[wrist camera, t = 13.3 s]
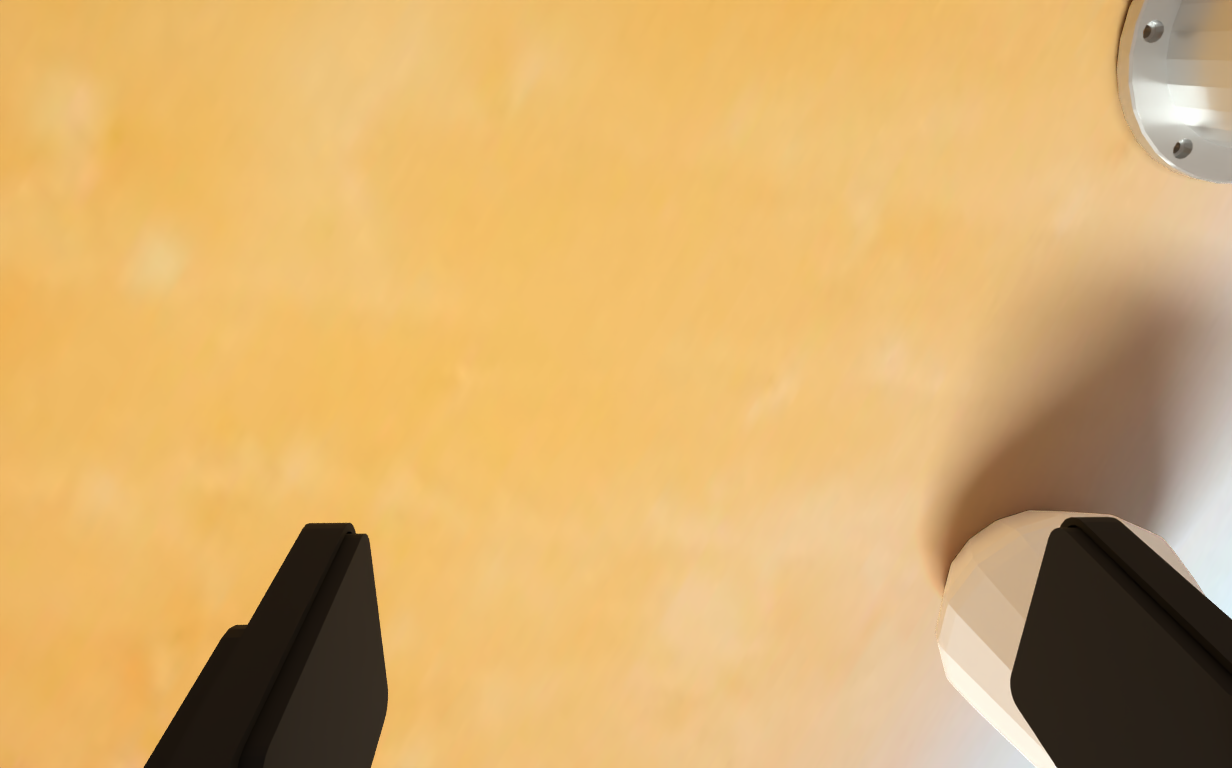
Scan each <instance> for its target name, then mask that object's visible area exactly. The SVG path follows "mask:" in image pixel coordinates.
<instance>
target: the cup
mask: <svg viewBox="0 0 1232 768" xmlns="http://www.w3.org/2000/svg"><path fill="white" fill-rule="evenodd" d="M1070 517H1113V518H1116V519H1117V520H1119V521H1121V522H1122V523H1123V524H1124V525H1125V526H1126V527H1128V528H1129V529H1130V530H1131V531H1132V532H1133V533H1134V534H1135V535H1137V536H1138V537H1139V538H1140V539H1141V540H1142V541H1143V542H1145V543H1146V544H1147V545H1148V546H1149V547H1150V548H1151V549H1152V550H1154V551H1155V552H1156V553H1157V554H1158V555H1159V556H1160V557H1162V558H1163V559H1164V560H1165V561H1166V562H1167V563H1168V564H1169V565H1171V566H1172V567H1173V568H1174V569H1175V570H1176V571H1177V572H1178V573H1180V574H1181V575H1182V576H1183V577H1184V578H1185V579H1186V580H1188V581H1189V582H1190V583H1191V584H1192V585H1193V586H1194V587H1195V588H1197V589H1198V590H1199V591H1200V592H1201V593H1202V594H1203V595H1204V593H1203V592H1202V590H1201V588H1200V587H1199V585H1198V584H1197V582H1196V581H1195V579H1194V578H1193V576H1192V575H1191V574H1190V572H1189V571H1188V570H1187V568H1186V567H1185V565H1184V564H1183V563H1182V561H1181V560H1180V559H1179V557H1178V556H1177V555H1176V553H1175V552H1174V551H1173V549H1172V548H1171V547H1170V546H1169V544H1168V543H1167V542H1166V541H1165V540H1164V539H1163V538H1162V537H1160V536H1158V535H1156V534H1154V533H1152V532H1150V531H1148V530H1145V529H1143V528H1141V527H1139V526H1136V525H1134V524H1132V523H1130V522H1127V521H1125V520H1123V519H1121V518H1118V517H1116V516H1114V515H1110V514H1095V513H1081V512H1066V511H1034V510H1028V511H1025V512H1022V513H1018V514H1015V515H1012V516H1009V517H1006V518H1002V519H999V520H996V521H995V522H993V523H992V524H990V525H989V526H988V527H986V528H985V529H983V530H982V531H980V532H979V533H977V534H976V535H974V536H973V537H972V538H970V539H969V540H968V542H967V543H966V544H965V546H964V547H963V548H962V550H961V551H960V552H959V554H958V555H957V556H956V558H955V559H954V560H953V562H952V563H951V566H950V570H949V574H948V578H947V581H946V585H945V589H944V594H943V598H942V603H941V608H940V612H939V617H938V621H937V626H936V631H935V634H936V638H937V642H938V646H939V650H940V654H941V658H942V662H943V666H944V670H945V674H946V678H947V679H948V680H949V681H950V683H951V684H952V685H953V686H954V688H955V689H956V690H957V691H958V692H959V693H960V694H961V695H962V696H963V697H964V698H965V699H966V700H967V701H968V702H969V703H970V704H971V705H972V706H973V707H974V708H975V709H976V710H977V711H978V712H979V713H980V714H981V715H982V716H983V717H984V718H985V719H986V720H987V721H988V722H989V723H990V724H991V725H992V726H993V727H994V728H995V729H996V730H998V731H999V732H1000V733H1001V734H1002V735H1003V736H1004V737H1005V738H1006V739H1007V740H1008V741H1009V742H1010V743H1011V744H1012V745H1013V746H1014V747H1015V748H1016V749H1017V750H1018V751H1019V752H1020V753H1021V754H1022V755H1024V756H1025V757H1026V758H1027V759H1028V760H1029V761H1030V762H1031V763H1032V764H1033V765H1034V766H1035V767H1036V768H1057V767H1056V766H1055V764H1054V763H1053V761H1052V760H1051V758H1050V757H1049V755H1048V754H1047V752H1046V751H1045V749H1044V748H1043V746H1042V744H1041V743H1040V741H1039V740H1038V738H1037V737H1036V735H1035V734H1034V732H1033V731H1032V729H1031V728H1030V726H1029V725H1028V723H1027V722H1026V720H1025V719H1024V717H1023V716H1022V714H1021V713H1020V711H1019V710H1018V708H1017V706H1016V704H1015V703H1014V700H1013V697H1012V694H1011V689H1010V678H1011V673H1012V669H1013V666H1014V662H1015V658H1016V655H1017V651H1018V647H1019V644H1020V640H1021V636H1022V633H1023V629H1024V625H1025V622H1026V618H1027V614H1028V611H1029V607H1030V603H1031V600H1032V596H1033V592H1034V589H1035V585H1036V581H1037V578H1038V574H1039V570H1040V567H1041V563H1042V559H1043V556H1044V552H1045V549H1046V545H1047V541H1048V538H1049V535H1050V533H1051V532H1052V531H1053V530H1054V529H1056V528H1060V526H1061V524H1062V523H1063V522H1064V520H1065V519H1067V518H1070Z"/></svg>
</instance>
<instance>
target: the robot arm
mask: <svg viewBox="0 0 1232 768" xmlns="http://www.w3.org/2000/svg"><path fill="white" fill-rule="evenodd" d="M1143 31H1144V34H1143ZM1117 79H1118V94H1119V99H1120V103H1121V106H1122V110H1123V113H1124V117H1125V121H1126V122H1127V124H1128V126H1129V128H1130V130H1131V132H1132V134H1133V135H1134V137H1135V139H1136V141H1137V142H1138V143H1139V144H1140V146H1141V147H1142V148H1143V149H1144V150H1145V151H1146V152H1147V153H1148V154H1149V155H1150V157H1151V158H1152V159H1154V160H1155V161H1157V162H1158V163H1160V164H1161V165H1163V166H1164V167H1166V168H1167V169H1169V170H1171V171H1173V172H1176V173H1179V174H1181V175H1184V176H1187V177H1190V178H1193V179H1198V180H1203V181H1209V182H1214V183H1232V0H1133V1H1132V3H1131V5H1130V7H1129V10H1128V14H1127V17H1126V21H1125V24H1124V28H1123V31H1122V35H1121V38H1120V45H1119V54H1118V63H1117ZM1010 689H1011V694H1012V697H1013V700H1014V703H1015V704H1016V706H1017V708H1018V710H1019V711H1020V713H1021V714H1022V716H1023V717H1024V719H1025V720H1026V722H1027V723H1028V725H1029V726H1030V728H1031V729H1032V731H1033V732H1034V734H1035V735H1036V737H1037V738H1038V740H1039V741H1040V743H1041V744H1042V746H1043V748H1044V749H1045V751H1046V752H1047V754H1048V755H1049V757H1050V758H1051V760H1052V761H1053V763H1054V764H1055V766H1056V767H1057V768H1232V619H1231V618H1229V617H1228V616H1227V615H1226V614H1225V613H1224V612H1223V611H1222V610H1220V609H1219V608H1218V607H1217V606H1216V605H1215V604H1214V603H1212V602H1211V601H1210V600H1209V599H1208V598H1207V597H1206V596H1205V595H1203V594H1202V593H1201V592H1200V591H1199V590H1198V589H1197V588H1195V587H1194V586H1193V585H1192V584H1191V583H1190V582H1189V581H1188V580H1186V579H1185V578H1184V577H1183V576H1182V575H1181V574H1180V573H1178V572H1177V571H1176V570H1175V569H1174V568H1173V567H1172V566H1171V565H1169V564H1168V563H1167V562H1166V561H1165V560H1164V559H1163V558H1162V557H1160V556H1159V555H1158V554H1157V553H1156V552H1155V551H1154V550H1152V549H1151V548H1150V547H1149V546H1148V545H1147V544H1146V543H1145V542H1143V541H1142V540H1141V539H1140V538H1139V537H1138V536H1137V535H1135V534H1134V533H1133V532H1132V531H1131V530H1130V529H1129V528H1128V527H1126V526H1125V525H1124V524H1123V523H1122V522H1121V521H1119V520H1117V519H1116V518H1113V517H1070V518H1067V519H1065V520H1064V522H1063V523H1062V524H1061V526H1060V528H1056V529H1054V530H1053V531H1052V532H1051V533H1050V535H1049V538H1048V541H1047V545H1046V549H1045V552H1044V556H1043V559H1042V563H1041V567H1040V570H1039V574H1038V578H1037V581H1036V585H1035V589H1034V592H1033V596H1032V600H1031V603H1030V607H1029V611H1028V614H1027V618H1026V622H1025V625H1024V629H1023V633H1022V636H1021V640H1020V644H1019V647H1018V651H1017V655H1016V658H1015V662H1014V666H1013V669H1012V673H1011V678H1010ZM387 703H388V686H387V678H386V670H385V662H384V654H383V646H382V637H381V629H380V621H379V613H378V605H377V597H376V589H375V581H374V573H373V565H372V557H371V549H370V542H369V538H368V535H366V534H356V533H355V529H354V527H353V525H352V524H351V523H309V524H306V525H305V527H304V528H303V529H302V531H301V533H300V534H299V536H298V538H297V540H296V541H295V543H294V545H293V547H292V548H291V550H290V552H289V554H288V555H287V557H286V559H285V561H284V562H283V564H282V566H281V568H280V569H279V571H278V573H277V575H276V576H275V578H274V580H273V582H272V583H271V585H270V587H269V589H268V590H267V592H266V594H265V596H264V597H263V599H262V601H261V603H260V604H259V606H258V608H257V609H256V611H255V613H254V615H253V616H252V618H251V620H250V622H249V623H248V625H235V626H233V627H231V628H230V629H228V631H227V632H226V633H225V634H224V636H223V637H222V638H221V640H220V642H219V643H218V645H217V647H216V648H215V650H214V652H213V653H212V655H211V657H210V658H209V660H208V662H207V663H206V665H205V667H204V668H203V670H202V672H201V673H200V675H199V677H198V678H197V680H196V682H195V683H194V685H193V687H192V688H191V690H190V692H189V693H188V695H187V696H186V698H185V700H184V701H183V703H182V705H181V706H180V708H179V710H178V711H177V713H176V715H175V716H174V718H173V720H172V721H171V723H170V725H169V726H168V728H167V730H166V731H165V733H164V735H163V736H162V738H161V740H160V741H159V743H158V745H157V746H156V748H155V750H154V751H153V753H152V754H151V756H150V758H149V759H148V761H147V763H146V764H145V766H144V768H371V765H372V761H373V758H374V755H375V751H376V748H377V744H378V741H379V737H380V734H381V730H382V727H383V723H384V720H385V716H386V711H387Z"/></svg>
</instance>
